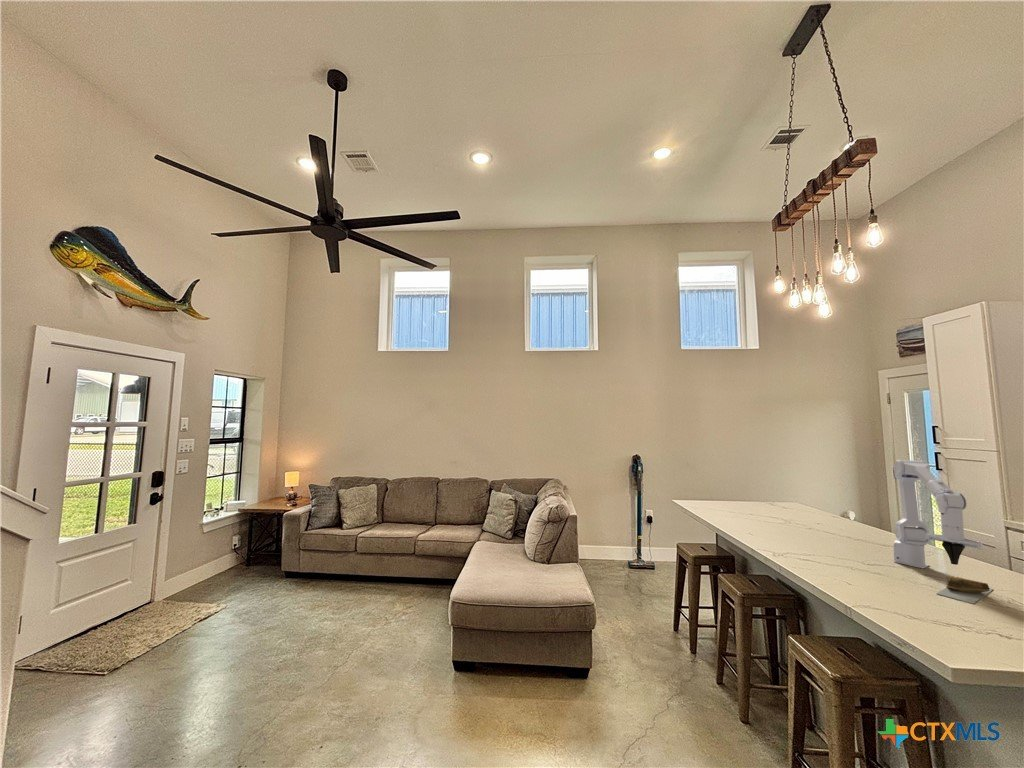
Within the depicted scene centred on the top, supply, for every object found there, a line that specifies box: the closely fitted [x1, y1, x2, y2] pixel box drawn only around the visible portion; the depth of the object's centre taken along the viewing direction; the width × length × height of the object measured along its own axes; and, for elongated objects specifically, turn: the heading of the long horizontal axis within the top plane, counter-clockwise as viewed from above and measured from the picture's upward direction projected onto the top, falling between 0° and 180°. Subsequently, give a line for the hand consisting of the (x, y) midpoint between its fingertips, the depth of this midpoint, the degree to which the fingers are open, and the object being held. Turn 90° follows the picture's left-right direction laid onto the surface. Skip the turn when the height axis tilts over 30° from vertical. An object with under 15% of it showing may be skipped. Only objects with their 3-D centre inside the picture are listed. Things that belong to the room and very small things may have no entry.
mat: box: [936, 587, 994, 605], centre depth 151 cm, size 9×24×1 cm, turn 121°
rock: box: [945, 575, 990, 593], centre depth 153 cm, size 11×9×10 cm
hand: (954, 563), depth 155 cm, fingers closed
